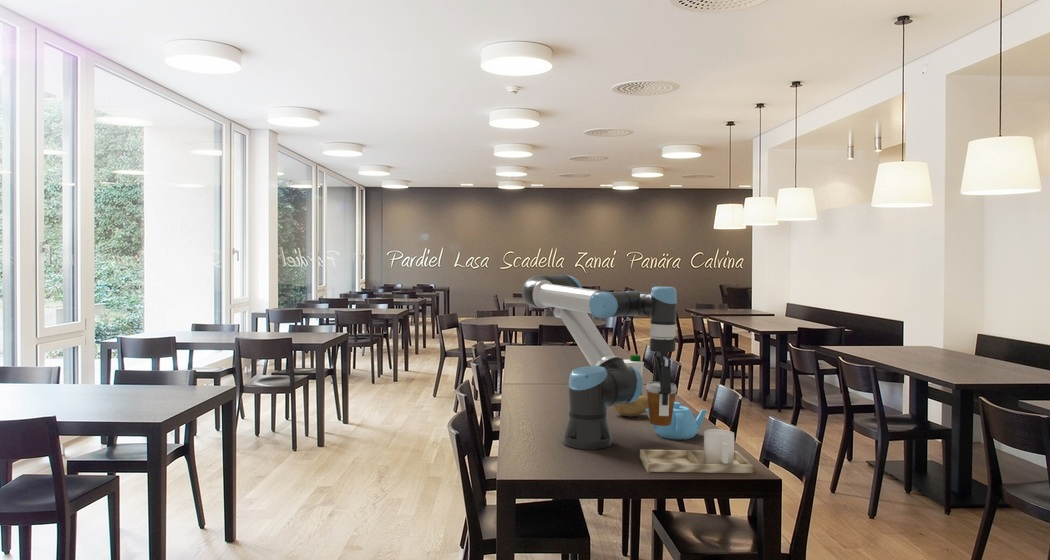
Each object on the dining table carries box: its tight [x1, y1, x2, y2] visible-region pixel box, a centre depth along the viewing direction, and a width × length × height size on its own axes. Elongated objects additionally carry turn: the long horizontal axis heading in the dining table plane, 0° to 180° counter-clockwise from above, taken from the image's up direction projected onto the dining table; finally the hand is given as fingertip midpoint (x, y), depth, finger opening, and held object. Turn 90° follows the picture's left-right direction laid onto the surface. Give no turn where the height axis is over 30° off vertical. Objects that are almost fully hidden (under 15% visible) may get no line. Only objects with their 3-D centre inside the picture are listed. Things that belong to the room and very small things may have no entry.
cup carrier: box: [639, 449, 754, 474], centre depth 185 cm, size 28×14×2 cm, turn 89°
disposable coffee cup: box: [645, 381, 678, 426], centre depth 202 cm, size 10×10×12 cm
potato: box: [612, 395, 649, 417], centre depth 247 cm, size 10×14×8 cm
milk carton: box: [623, 354, 645, 396], centre depth 264 cm, size 9×9×20 cm
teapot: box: [645, 401, 708, 441], centre depth 220 cm, size 15×15×11 cm
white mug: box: [703, 428, 735, 464], centre depth 184 cm, size 8×11×9 cm
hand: (660, 411), depth 202 cm, fingers closed on disposable coffee cup, 9 cm apart
